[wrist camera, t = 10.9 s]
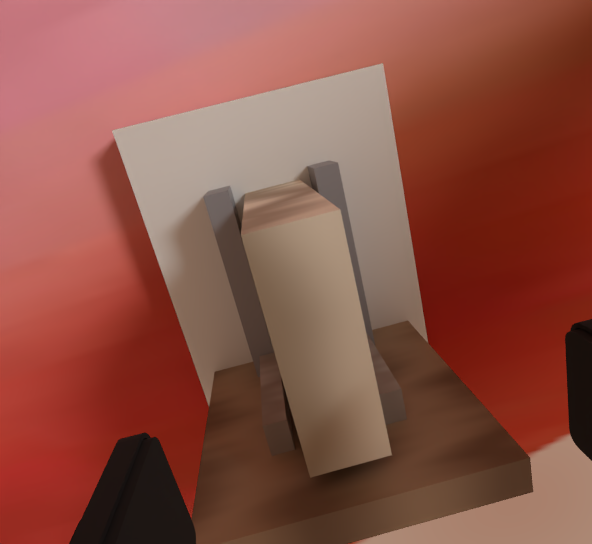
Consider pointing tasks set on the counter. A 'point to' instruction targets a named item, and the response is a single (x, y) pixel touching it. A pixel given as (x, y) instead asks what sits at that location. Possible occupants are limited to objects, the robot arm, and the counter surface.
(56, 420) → the counter surface
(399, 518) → the cabinet side
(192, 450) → the counter surface
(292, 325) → the beige rectangular block
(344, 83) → the white tile with rails
